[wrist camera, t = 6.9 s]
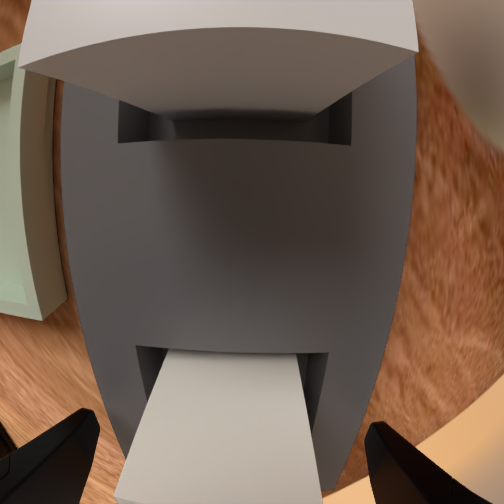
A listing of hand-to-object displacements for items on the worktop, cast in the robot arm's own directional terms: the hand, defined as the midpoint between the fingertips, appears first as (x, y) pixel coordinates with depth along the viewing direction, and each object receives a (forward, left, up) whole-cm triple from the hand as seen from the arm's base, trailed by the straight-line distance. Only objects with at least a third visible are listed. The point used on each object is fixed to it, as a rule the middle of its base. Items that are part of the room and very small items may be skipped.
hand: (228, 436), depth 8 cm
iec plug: (0, 0, -3) cm, 3 cm away
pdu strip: (+7, 0, -4) cm, 8 cm away
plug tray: (+8, +12, -4) cm, 15 cm away
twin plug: (+11, 0, -3) cm, 11 cm away
